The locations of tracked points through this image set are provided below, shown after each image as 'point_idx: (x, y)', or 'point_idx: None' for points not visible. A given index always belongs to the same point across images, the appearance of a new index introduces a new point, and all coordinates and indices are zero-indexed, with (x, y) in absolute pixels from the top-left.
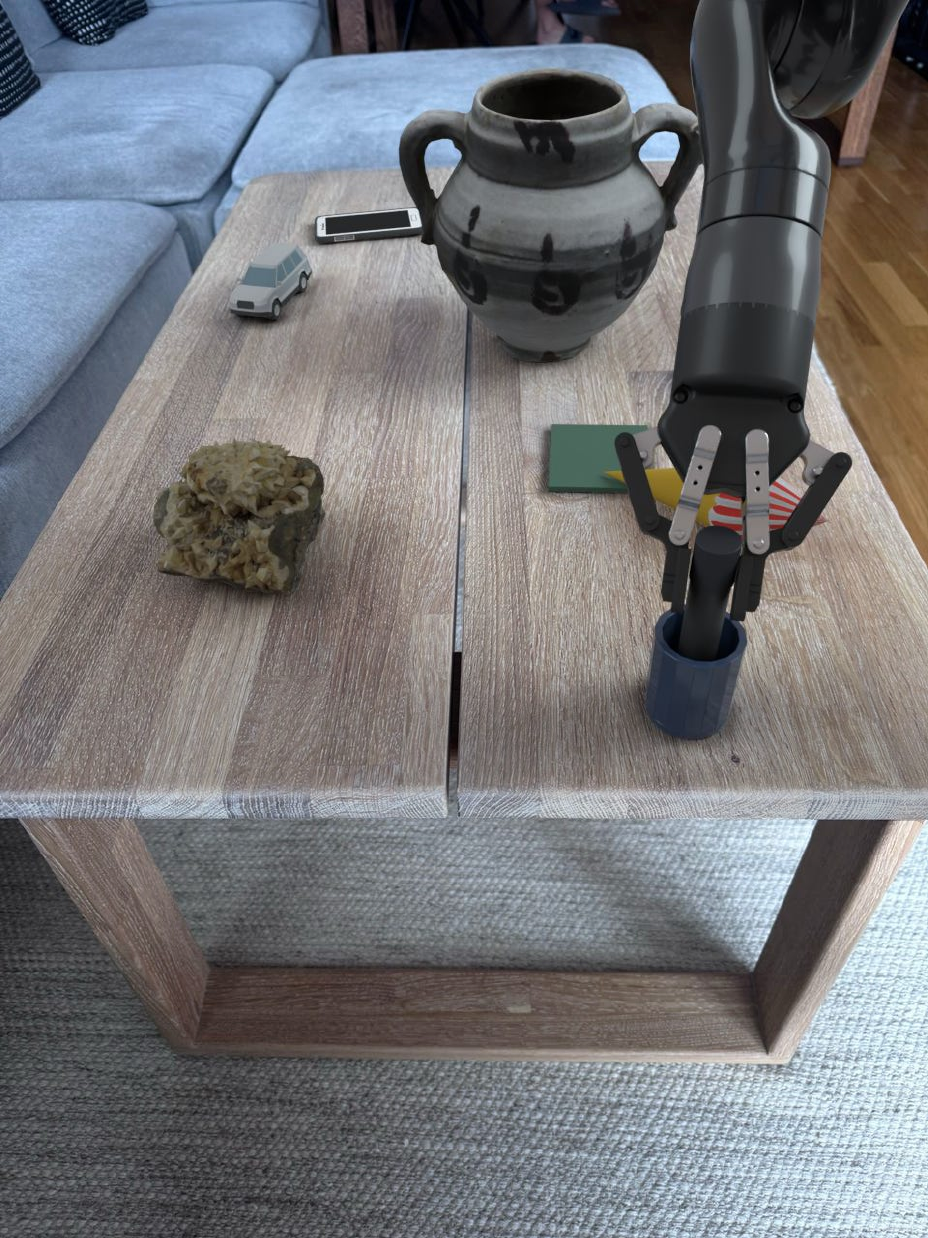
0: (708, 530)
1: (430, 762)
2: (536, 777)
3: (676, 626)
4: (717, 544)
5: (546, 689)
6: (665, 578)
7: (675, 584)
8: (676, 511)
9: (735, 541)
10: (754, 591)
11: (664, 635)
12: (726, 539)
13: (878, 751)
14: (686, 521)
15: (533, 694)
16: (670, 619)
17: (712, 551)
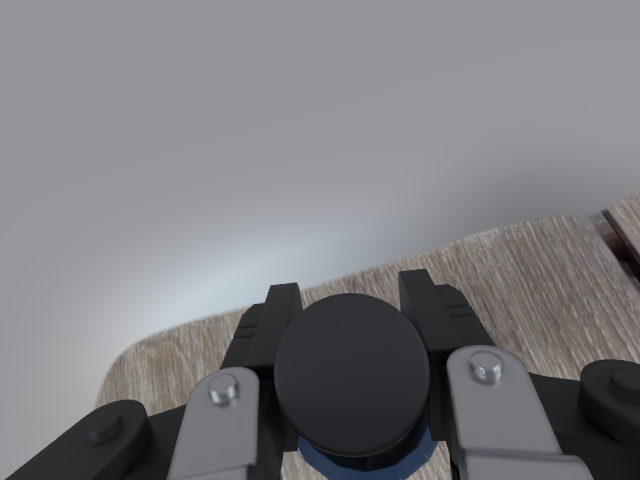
0: (393, 409)
1: (634, 222)
2: (506, 240)
3: (410, 446)
4: (350, 338)
5: (561, 378)
6: (465, 307)
7: (435, 289)
8: (549, 430)
9: (295, 369)
10: (251, 329)
11: (425, 417)
12: (325, 374)
13: (138, 391)
14: (485, 406)
15: (574, 363)
16: (424, 429)
17: (360, 299)
